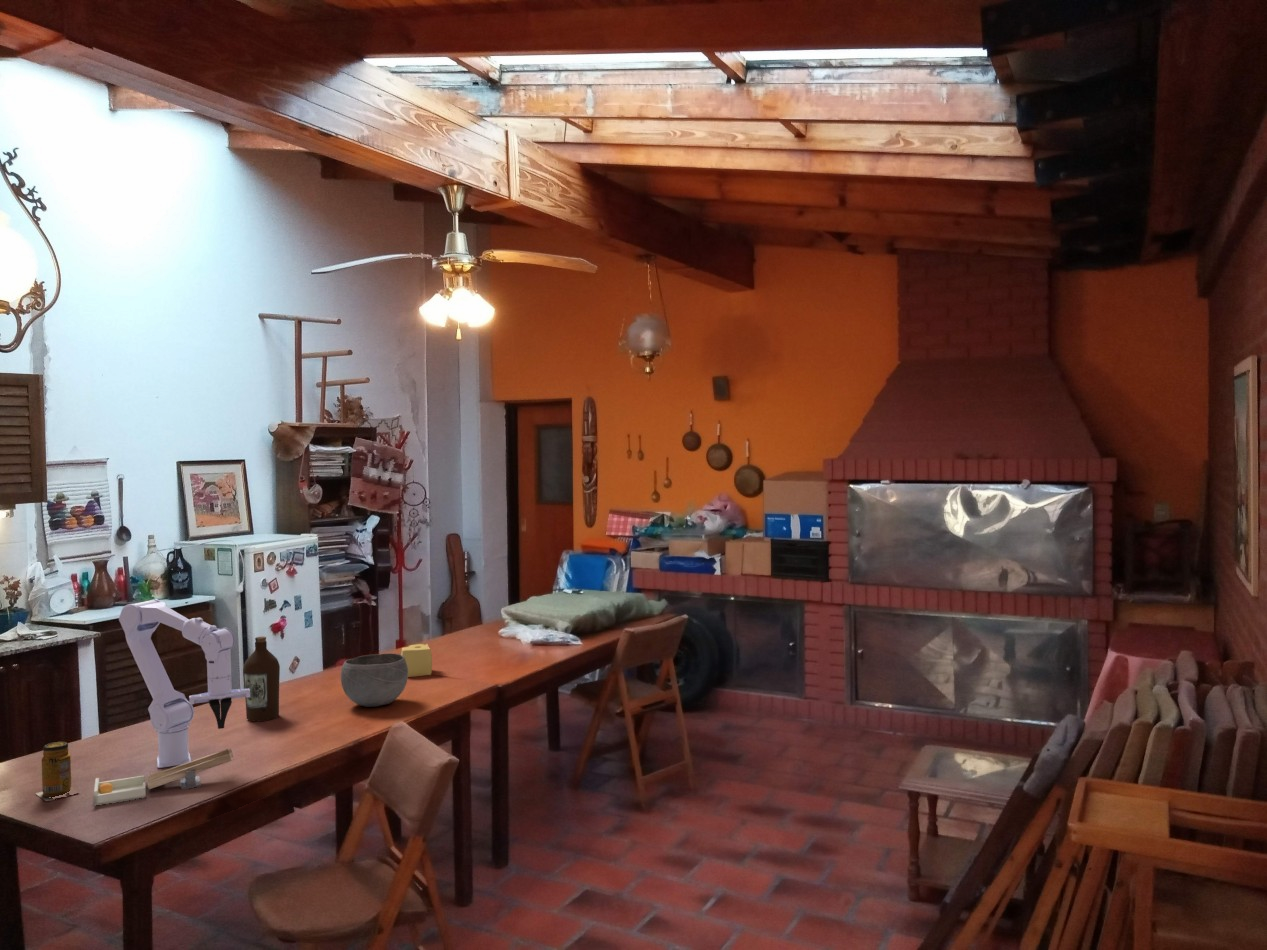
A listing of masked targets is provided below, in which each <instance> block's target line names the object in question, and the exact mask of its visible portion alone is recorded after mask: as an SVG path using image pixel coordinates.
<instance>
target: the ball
mask: <svg viewBox="0 0 1267 950" xmlns="http://www.w3.org/2000/svg"><path fill="white" fill-rule="evenodd" d="M112 791H113V786H112V785H111V784H110V783H104V784H102V785H101V786H100V787H99V793H100V794H105V793H112Z"/></svg>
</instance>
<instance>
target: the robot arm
mask: <svg viewBox="0 0 1267 950" xmlns="http://www.w3.org/2000/svg"><path fill="white" fill-rule="evenodd" d="M118 621H119V623H120V625H121V628H122V630H123V632H124V635H125V641H126V643H127V646H128V648H129V650H130V651H131V654H132V656H133V659H134V661H135V663H136V665H137V667H138V669H139V671H140V674H141V676H142V678H143V680H144V683H145V685H146V687H147V689H148V691H149V693H150V695H151V698H152V701H151V703H150V705H149V706H148V708H147V711H148V713H149V716H150V724H151V726H152V728H153V729H154V730H155V733H157V741H158V756H157V757H156V765H157V768H158V769H161V768H168V767H176V766H179V765H182V764H185V763H188V762H191V761H192V759H191V754H190V753H191V752H189V728H188V727H189V726H190V725H191V721H193V719H194V717H195V709H194V706H193V705H195V704H200V703H208V704H209V707H210V708H211V710H212V712H213V714H214V718H215V720H216V725H217V729H218V730H220V729H221V730H222V729H225V723H226V718H227V717H228V716H227V715H228V712H229V710H230V708H231V706H232V703H233V699H240V698H245V697H250V689H249V688H248V689H245V688H238V689H237V688H236V689H233V688H232V687H233V686H232V657H231V655H232V654H231V653H232V652H231V649H232V648H233V647H234V646H235V644H236V636H235V634H234V632H233V631H232V630H231V629H229V628H228V627H221V628H218V627H217V625H215V624H213V625H211V624H209V623H207V622H206V621H204V619H203V618H202V617H193V618H190V619H188V618H187V617H186V616H184V615H182V614H180V613H179V612H177V611H176V610H174V609H172V608H170V607H169V606H168V605H167V603H166V602H164V601H161V600H159V599H157V598H153V599H150V600H146V601H142V602H135V603H129V604H126V605H124V606H123V607H122V608H121V611H120V615H119V617H118ZM160 623H161V624H163V625H165V626H168V627H170V628H173V629H175V630H178V631H180V632H181V635H182V637H183V638H184V639H187V640H188V641H190V642H192V643H194V644H196V645H198V646H200V647H201V650H202V651H203V653H204V657H205V658H204V659H205V660H206V670H207V672H206V673H207V675H206V676H207V677H206V678H207V692H204V693H202V692H201V693H198V694H192V695H189V696H188V699H187V698H186V696H185V693H182V692H180V691H179V690H176V689H174V686H173V684H172V681H171V680H170V677H169V676H168V674H167V671H166V669H165V667H164V665H163V663H162V661H161V658H160V656H159V654H158V652H157V649H156V648H155V645H154V643H153V640H152V635H153V633H154V632H155V631H156V630H157V628H158V627H159V625H160Z"/></svg>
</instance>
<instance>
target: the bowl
mask: <svg viewBox="0 0 1267 950" xmlns="http://www.w3.org/2000/svg"><path fill="white" fill-rule="evenodd" d="M408 678H409V677H408V667H407V663H406V660H405V658H404V656H403V655H401V653H400V654H398V653H393V652H392V653H378V654H376V653H374V654H367V655H361V656H357V657H356V656H355V657H353V658H350V659H347V660H345V661H344V662H343V664H342V666H341V670H340V684H341V686H342V689H343V692H344V694H345V695H346V697H348V699H349V700H350V701H351V702H352V703H355V704H356V705H358V706H360V707H366V708H373V707H380V706H386V705H388V704H391V703H392V702H394V701H395V700H396V699H398V697H400V695H402V694H403V692H404V690H405V688H406V686H407V682H408Z"/></svg>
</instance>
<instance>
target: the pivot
mask: <svg viewBox="0 0 1267 950" xmlns="http://www.w3.org/2000/svg"><path fill="white" fill-rule="evenodd" d="M179 781H180V789H185V790H189V788H191V789H195V788H194V787H197V788H201V787H202V783H201V777H200V775H196V773H195V770H190V771H186V777H183V778H180V779H179Z"/></svg>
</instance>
